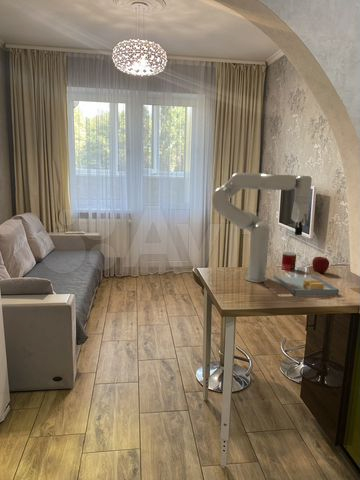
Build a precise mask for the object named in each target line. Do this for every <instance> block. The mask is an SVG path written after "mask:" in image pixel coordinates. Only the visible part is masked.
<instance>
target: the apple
mask: <svg viewBox="0 0 360 480" xmlns="http://www.w3.org/2000/svg"><path fill="white" fill-rule="evenodd" d="M311 263H312V264H311V266H312V269H313V272H316V273H317V274H325V273H326V272H327V271H328V269H329V266H330V261H329V259H328V258H327V257H324V256H316V257H314V258H313V259H312V262H311Z"/></svg>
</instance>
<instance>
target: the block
mask: <svg viewBox="0 0 360 480" xmlns="http://www.w3.org/2000/svg"><path fill="white" fill-rule="evenodd" d="M324 287H325V286H324V284H323V283H322V282H320V281H318V280H317V279H315V280H304V284H303V288H304V289H323V288H324Z"/></svg>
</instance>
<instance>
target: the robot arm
mask: <svg viewBox="0 0 360 480" xmlns="http://www.w3.org/2000/svg"><path fill="white" fill-rule="evenodd" d="M312 181H313V179H312V176H309V175H293V174H269V173H268V174H267V173H262V172H235V173H233V174H232V176H231V177H230V179H228V180H227V181H226V182H225V183H224V184H223V185H222V186H219V187H217V188H215V190H214V191H213V194H212V197H211V198H212V205H213V207H214V209H215V211H217V213H218V214H219V215H220V216H222V217H224V218H225V219H227V220H228V221H229V222H230V223H232V224H234V225H235V226H236V227H237V228H239V229H241V230H247V231H248V232H249V233H250V242H249V259H248V274H247V275H245V277H244V280H246V281H248V282H252V283H259V284H260V283H261V284H262V283H264V282H265V281H268V280H269V278H268V277H267V276H266V275H267V274H266V273H267V266H268V265H267V263H268V251H269V250H268V249H269V240H270V239H269V238H270V231H271V230H270V229H271V228H270V226H269V223H267V222H266V221H265V220H263V219H262V218H260V217H259V216H257V215H255V214H254V213H253V212H251V211H249V210H242V209H241V208H239V207H238V206H236V205H235V204H233V203H231V202H230V200H231V198H233V197H234V196H235V195H236V194H238V193H239V192H240V191H241V190H274V191H275V190H276V191H278V190H280V191H291V190H293V189H294V190H295V192H294V199H293V200H294V201H293V205H292V211H291V218H290V219H291V220H292V221H293V223H294V227H295V228H294V229H295V230H294V234H295V235H296V236H302V235H303V229H304V226H305V225H306V223H307V222H308V220H309V208H310V206H309V204H310V202H311V201H310V199H311V190H312V189H311V188H312Z"/></svg>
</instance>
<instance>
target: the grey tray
mask: <svg viewBox="0 0 360 480" xmlns="http://www.w3.org/2000/svg"><path fill="white" fill-rule="evenodd" d="M272 277H273V279H274V280H275V281H277V282H278V283H279V284H280V285H282V286H283V287H284V288H286V289H288V290H289V291H290V292H291V293H290V294H291V295H292V296H294V297H313V296H314V297H315V296H316V297H318V296H319V297H320V296H339V293H340V290H339V288H337V287H335V286H334V285H332V284H330V282H329V283H328V282H327V281H325V280H324V279H322V278H320V277H318V276H316V275H315V274H314V273H311V276H302V277H301V276H299V277H296V276H295V277H279V276H277V274H273V276H272ZM315 279H317V280H318V281H320V282H322V283H323V284H324V287H325V288H323V289H304V288H303V284H304V280H315ZM290 284H291V285H293V286H291V285H290ZM294 287H295V288H294Z"/></svg>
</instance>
